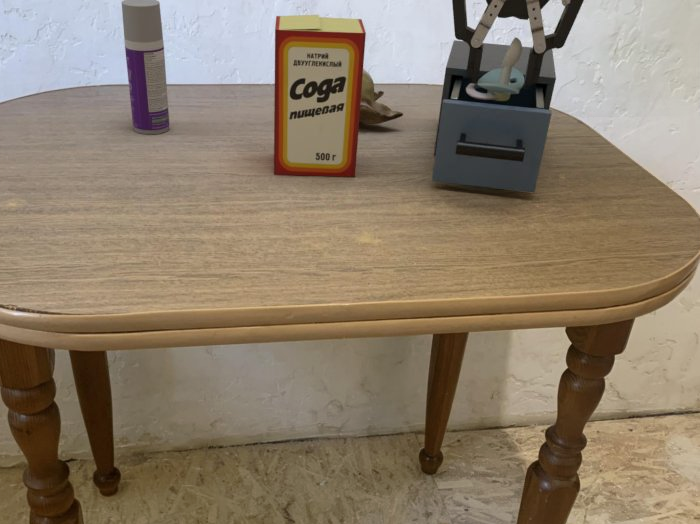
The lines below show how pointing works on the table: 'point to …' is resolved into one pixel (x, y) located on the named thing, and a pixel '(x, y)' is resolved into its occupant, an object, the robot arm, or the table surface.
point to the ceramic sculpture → (373, 104)
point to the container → (146, 65)
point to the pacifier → (501, 78)
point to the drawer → (491, 139)
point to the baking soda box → (317, 94)
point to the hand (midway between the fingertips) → (500, 83)
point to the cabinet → (491, 61)
